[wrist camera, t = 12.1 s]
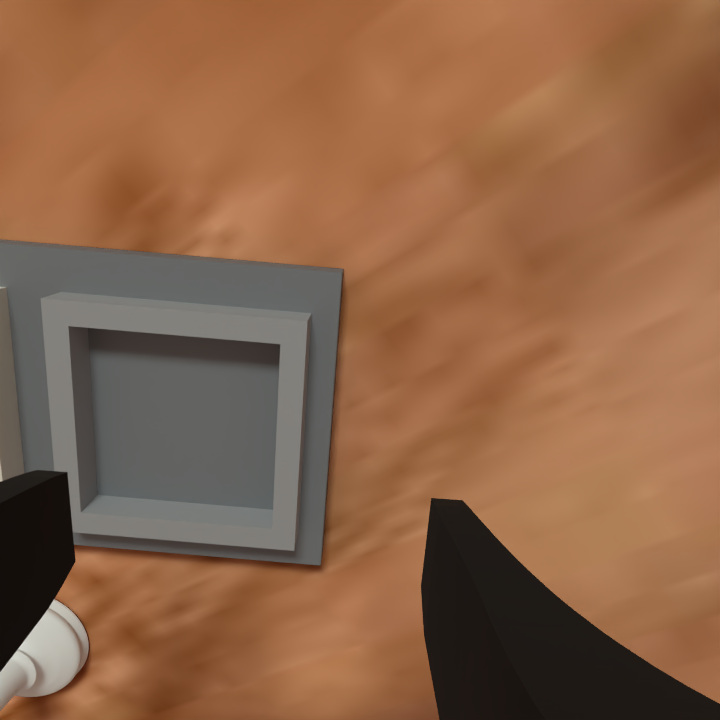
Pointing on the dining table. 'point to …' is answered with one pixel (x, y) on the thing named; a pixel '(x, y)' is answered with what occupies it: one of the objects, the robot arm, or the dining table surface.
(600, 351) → the dining table surface
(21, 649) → the chess piece
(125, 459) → the socket board
